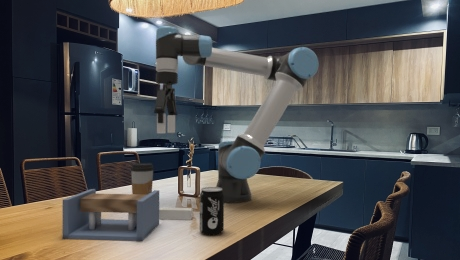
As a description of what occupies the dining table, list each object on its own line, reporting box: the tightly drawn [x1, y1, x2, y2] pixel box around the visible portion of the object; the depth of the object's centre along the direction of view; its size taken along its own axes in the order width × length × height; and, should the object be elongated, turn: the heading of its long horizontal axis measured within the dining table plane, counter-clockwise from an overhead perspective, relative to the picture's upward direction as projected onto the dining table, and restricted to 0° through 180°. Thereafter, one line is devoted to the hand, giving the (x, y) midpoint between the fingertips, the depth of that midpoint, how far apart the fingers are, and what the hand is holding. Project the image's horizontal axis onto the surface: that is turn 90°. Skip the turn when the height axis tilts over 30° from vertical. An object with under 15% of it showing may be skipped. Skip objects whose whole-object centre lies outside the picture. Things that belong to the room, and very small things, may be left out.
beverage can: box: [199, 186, 225, 236], centre depth 92 cm, size 7×7×12 cm
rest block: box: [159, 207, 193, 221], centre depth 106 cm, size 10×3×3 cm, turn 86°
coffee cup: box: [130, 162, 155, 195], centre depth 125 cm, size 8×8×15 cm
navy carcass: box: [61, 188, 160, 242], centre depth 93 cm, size 21×15×10 cm
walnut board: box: [80, 193, 146, 214], centre depth 93 cm, size 16×7×4 cm, turn 86°
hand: (166, 133), depth 117 cm, fingers open, 13 cm apart
